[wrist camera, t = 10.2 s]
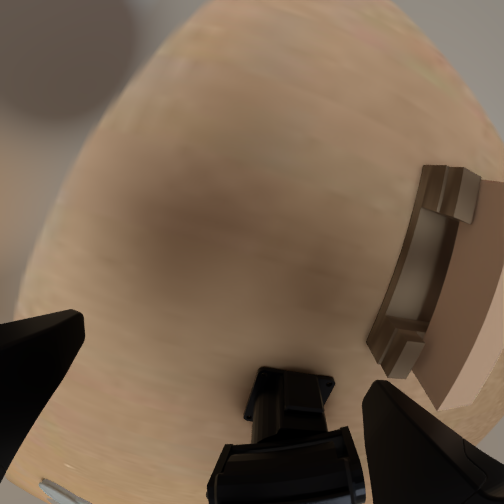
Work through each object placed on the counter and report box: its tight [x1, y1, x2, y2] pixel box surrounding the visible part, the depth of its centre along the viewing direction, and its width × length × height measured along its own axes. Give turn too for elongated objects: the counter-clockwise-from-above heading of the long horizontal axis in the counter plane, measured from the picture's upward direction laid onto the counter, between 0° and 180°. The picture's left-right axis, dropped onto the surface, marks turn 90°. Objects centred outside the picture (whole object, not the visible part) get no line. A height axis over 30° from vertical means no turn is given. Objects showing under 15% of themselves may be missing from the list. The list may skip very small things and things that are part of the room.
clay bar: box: [412, 180, 504, 411], centre depth 13 cm, size 14×4×5 cm, turn 172°
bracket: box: [366, 165, 481, 379], centre depth 16 cm, size 14×9×5 cm, turn 167°
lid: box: [39, 479, 92, 504], centre depth 38 cm, size 17×20×3 cm
